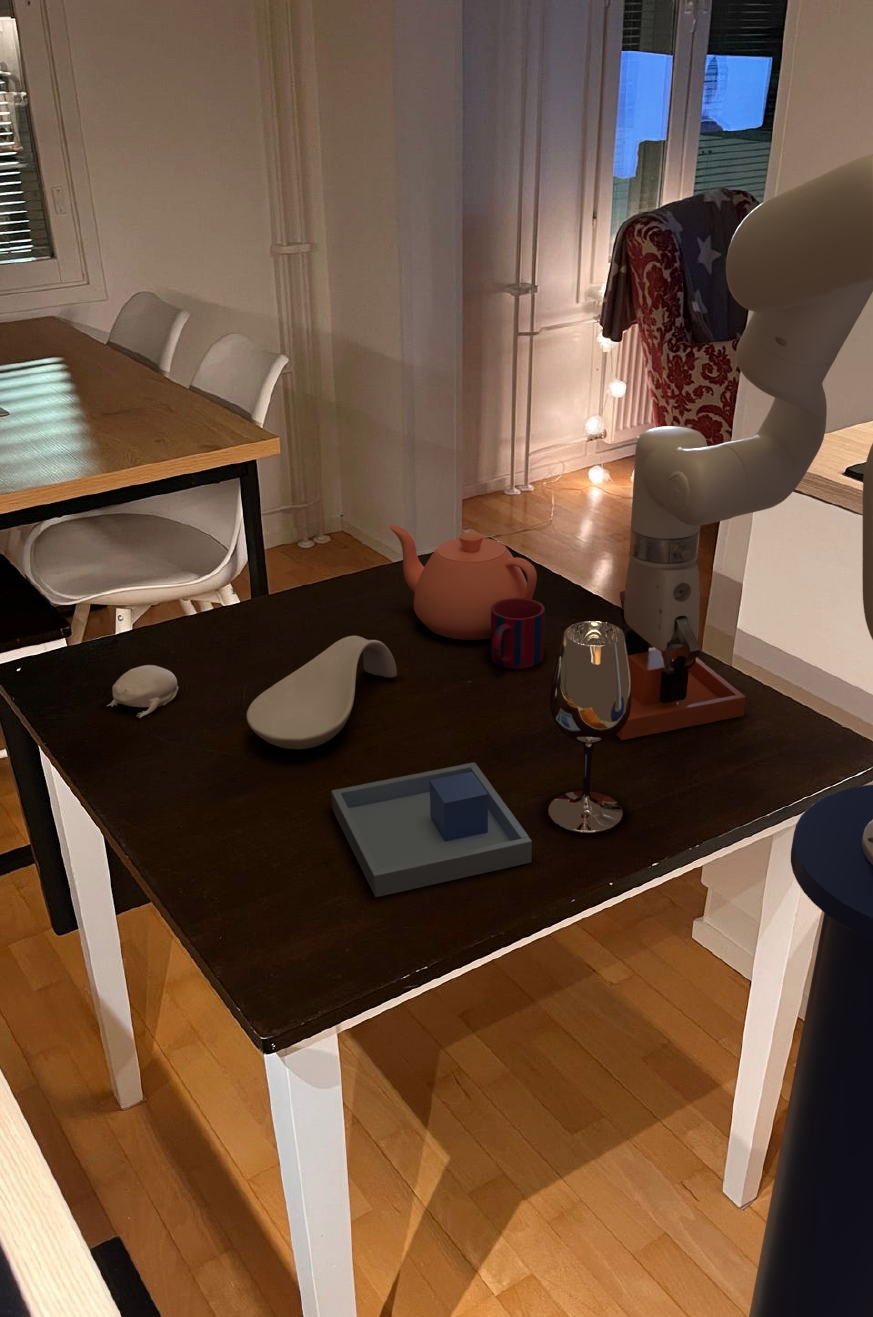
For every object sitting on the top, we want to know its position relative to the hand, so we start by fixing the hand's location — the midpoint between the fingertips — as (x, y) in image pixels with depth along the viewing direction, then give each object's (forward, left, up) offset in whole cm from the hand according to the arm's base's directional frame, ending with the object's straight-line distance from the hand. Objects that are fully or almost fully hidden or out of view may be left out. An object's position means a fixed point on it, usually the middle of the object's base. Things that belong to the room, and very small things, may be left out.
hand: (653, 682), depth 140 cm
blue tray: (-18, +34, -2) cm, 38 cm away
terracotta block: (0, 0, -2) cm, 2 cm away
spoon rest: (+10, +37, -2) cm, 38 cm away
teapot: (+29, +13, -2) cm, 32 cm away
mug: (+15, +12, -2) cm, 19 cm away
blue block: (-18, +31, -2) cm, 36 cm away
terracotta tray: (0, 0, -2) cm, 2 cm away
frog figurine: (+22, +57, -2) cm, 61 cm away
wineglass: (-20, +18, -2) cm, 27 cm away
